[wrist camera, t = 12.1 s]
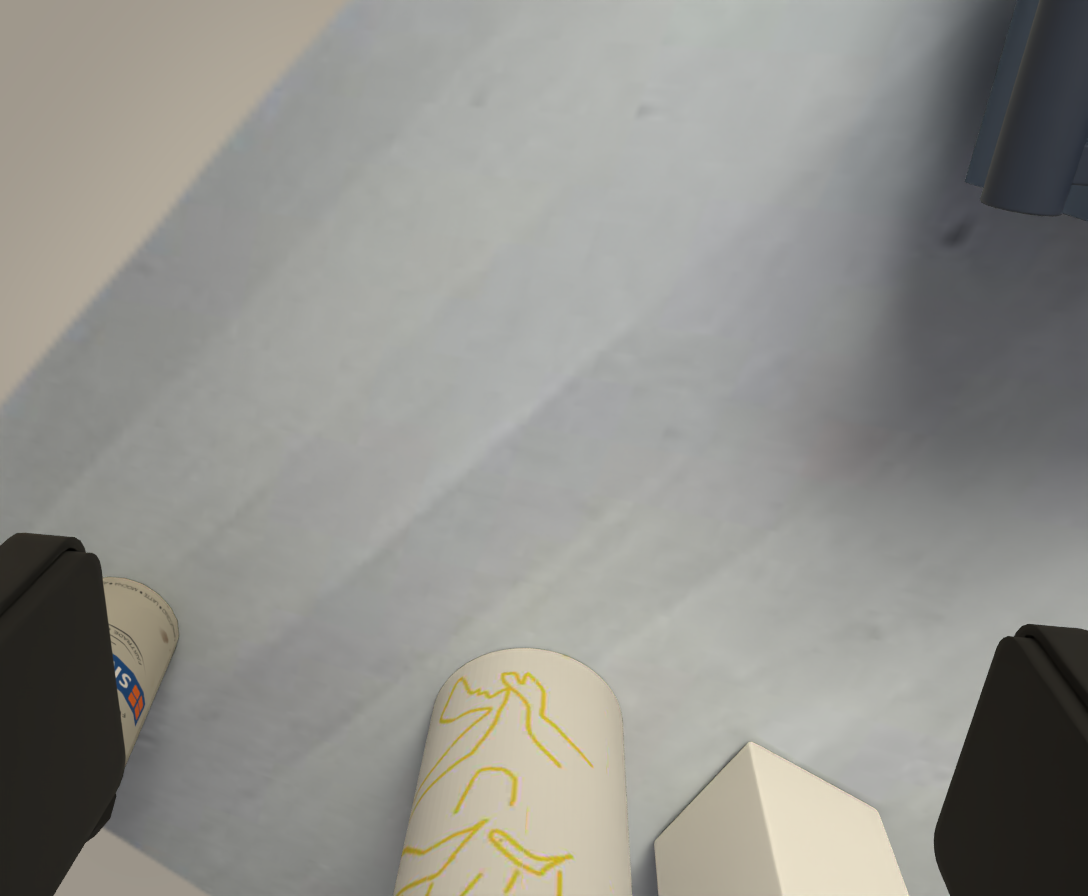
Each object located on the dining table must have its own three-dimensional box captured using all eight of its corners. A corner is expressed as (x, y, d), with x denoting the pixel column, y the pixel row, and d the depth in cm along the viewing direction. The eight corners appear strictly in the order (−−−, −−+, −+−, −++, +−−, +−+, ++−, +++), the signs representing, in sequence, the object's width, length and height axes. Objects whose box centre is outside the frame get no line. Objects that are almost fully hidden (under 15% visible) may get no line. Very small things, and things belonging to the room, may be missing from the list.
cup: (575, 622, 38) (572, 868, 27) (652, 765, 41) (676, 1038, 30) (398, 685, 40) (328, 940, 29) (484, 818, 43) (449, 1095, 32)
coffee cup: (137, 718, 41) (10, 919, 32) (4, 615, 39) (-172, 798, 30) (242, 633, 39) (139, 822, 30) (108, 519, 37) (-47, 686, 28)
